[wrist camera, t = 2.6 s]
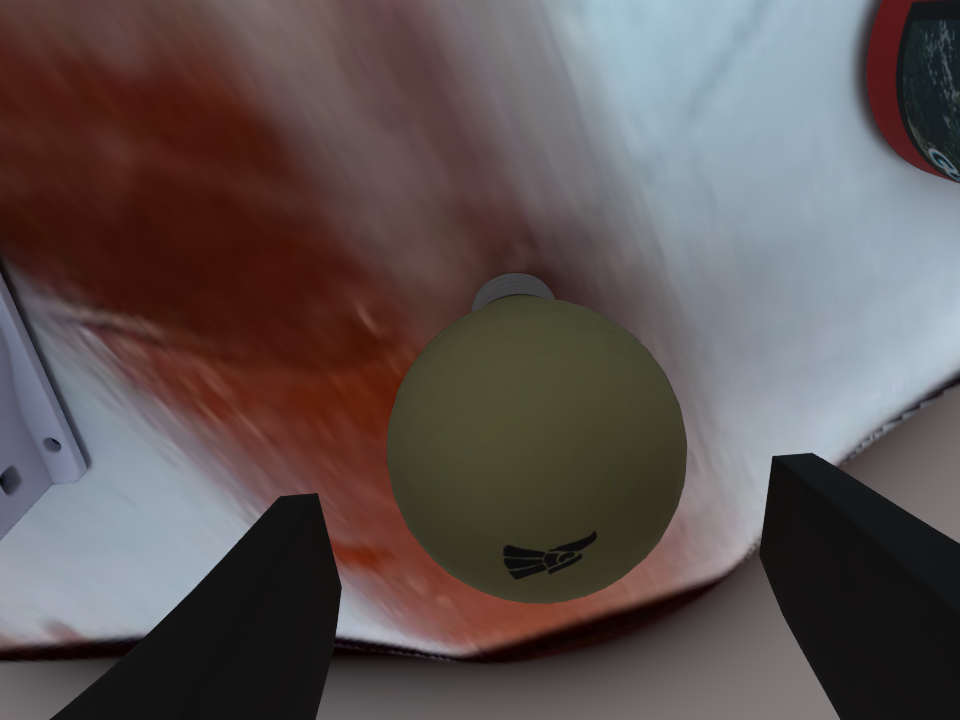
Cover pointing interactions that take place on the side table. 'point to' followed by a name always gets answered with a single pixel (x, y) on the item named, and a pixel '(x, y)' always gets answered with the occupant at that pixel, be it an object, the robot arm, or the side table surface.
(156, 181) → the side table surface
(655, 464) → the light bulb
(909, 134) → the beverage can
